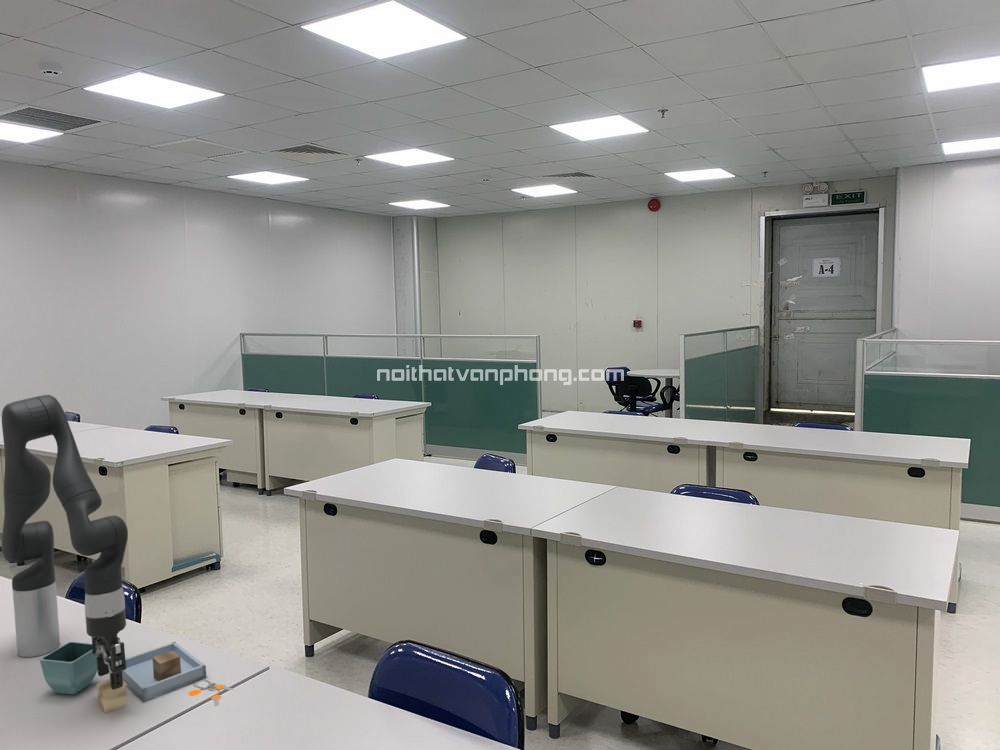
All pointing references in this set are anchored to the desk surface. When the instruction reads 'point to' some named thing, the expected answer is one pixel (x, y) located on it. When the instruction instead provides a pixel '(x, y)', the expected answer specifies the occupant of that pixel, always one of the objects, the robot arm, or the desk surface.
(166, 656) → the walnut block
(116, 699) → the oak block
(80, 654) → the flower pot
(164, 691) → the tray
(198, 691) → the key chain
